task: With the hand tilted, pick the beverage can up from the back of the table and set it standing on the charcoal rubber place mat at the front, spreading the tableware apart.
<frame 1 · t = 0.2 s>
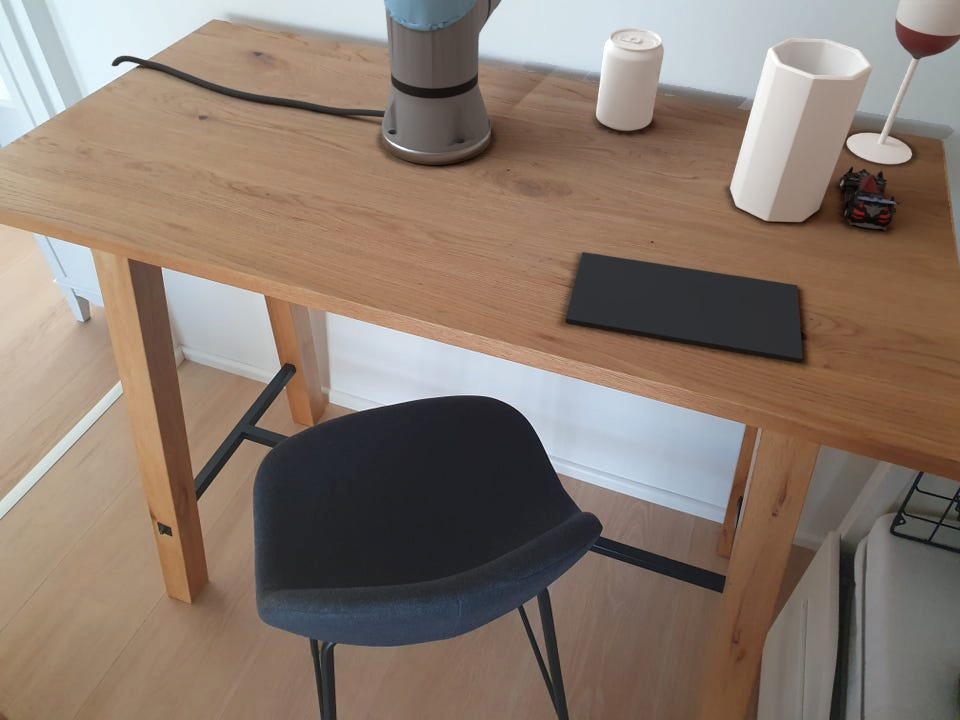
cup: (772, 200, 98), on the table
wineglass: (878, 149, 108), on the table
beverage can: (622, 121, 113), on the table
place mat: (683, 305, 83), on the table
toy car: (861, 204, 98), on the table
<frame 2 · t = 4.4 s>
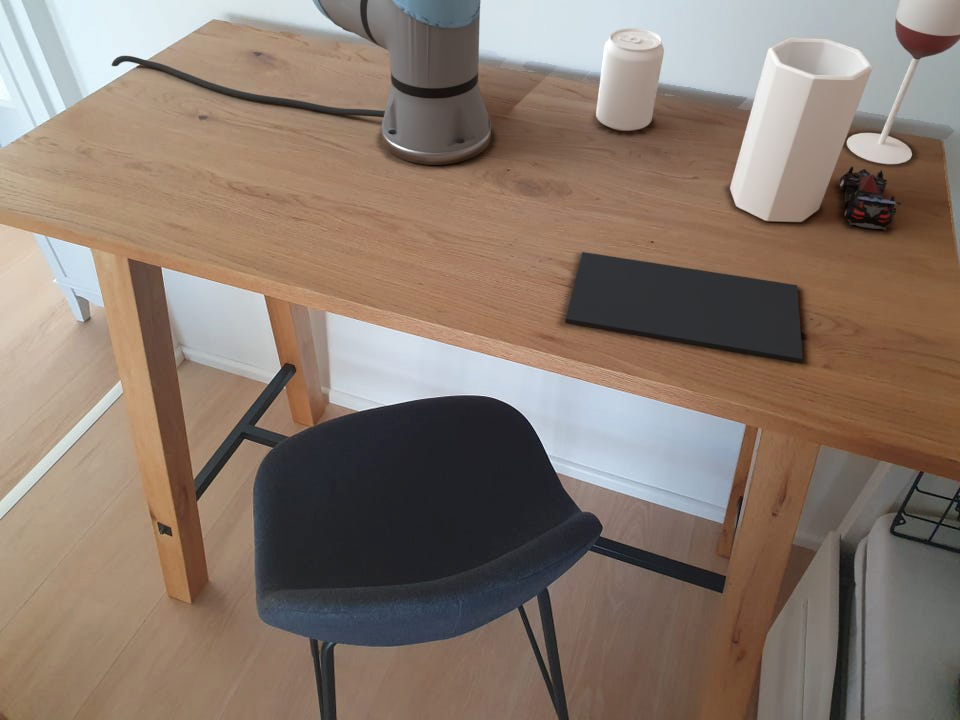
nothing on the table moved.
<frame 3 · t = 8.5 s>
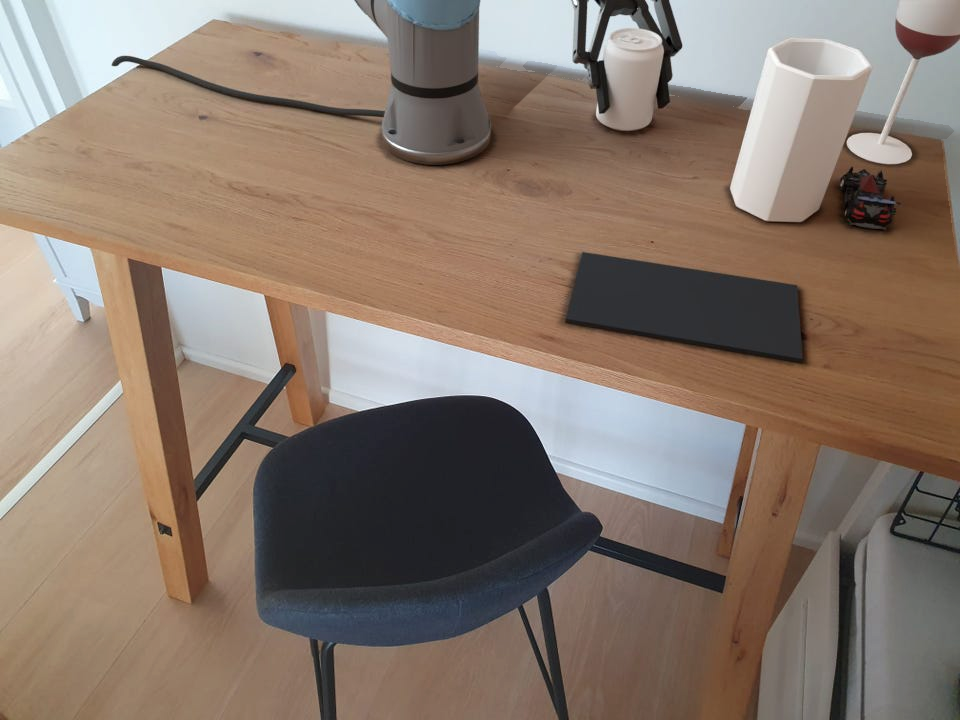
hand: (634, 107, 107), 4 cm above the table, tool tilted 45°, fingers closed on beverage can, 8 cm apart
beverage can: (622, 121, 113), on the table, touching gripper
everything else where it was.
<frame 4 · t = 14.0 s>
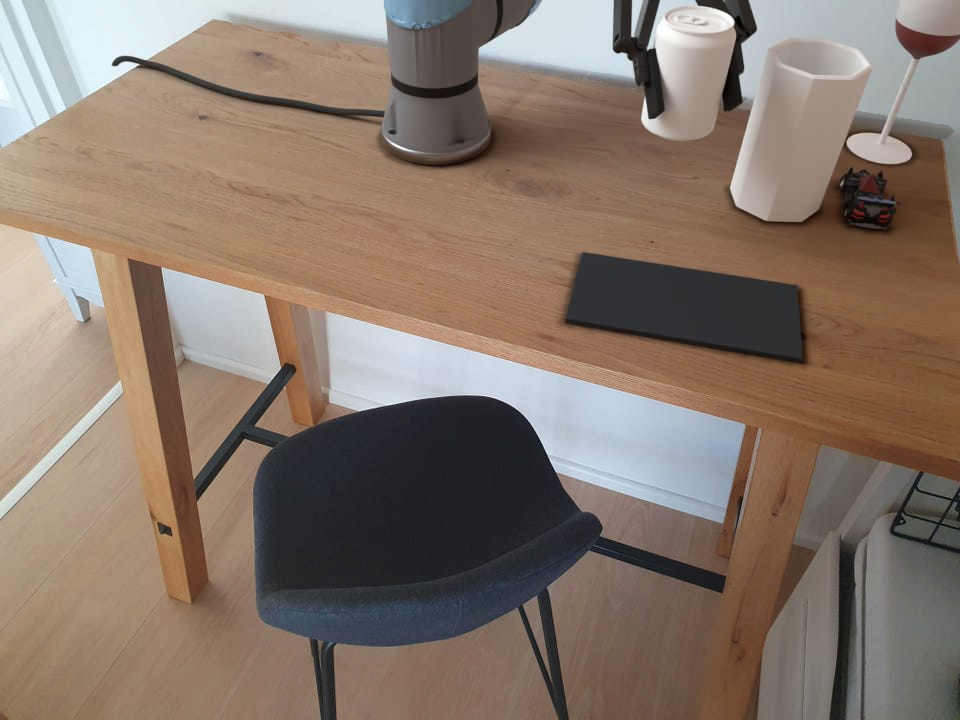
hand: (695, 110, 81), 16 cm above the table, tool tilted 45°, fingers closed on beverage can, 8 cm apart
beverage can: (676, 128, 87), point 12 cm above the table, touching gripper
everything else where it was.
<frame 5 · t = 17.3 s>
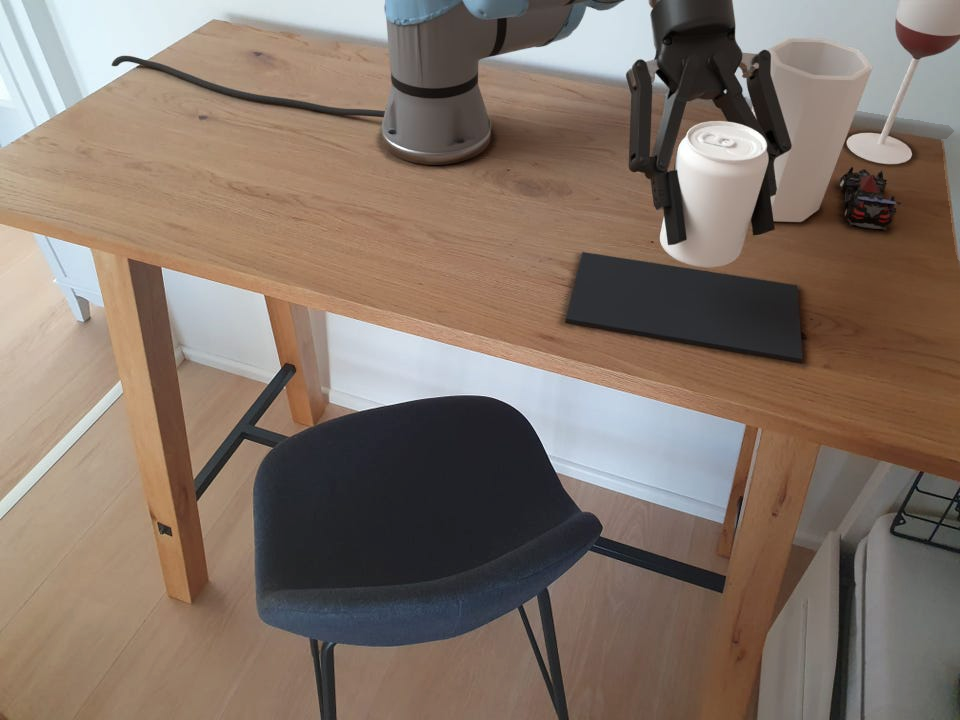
hand: (720, 237, 73), 11 cm above the table, tool tilted 45°, fingers closed on beverage can, 8 cm apart
beverage can: (698, 249, 78), point 8 cm above the table, touching gripper
everything else where it was.
when the fingers open (4 cm above the table, at t = 19.7 s): beverage can stays where it is, resting on place mat.
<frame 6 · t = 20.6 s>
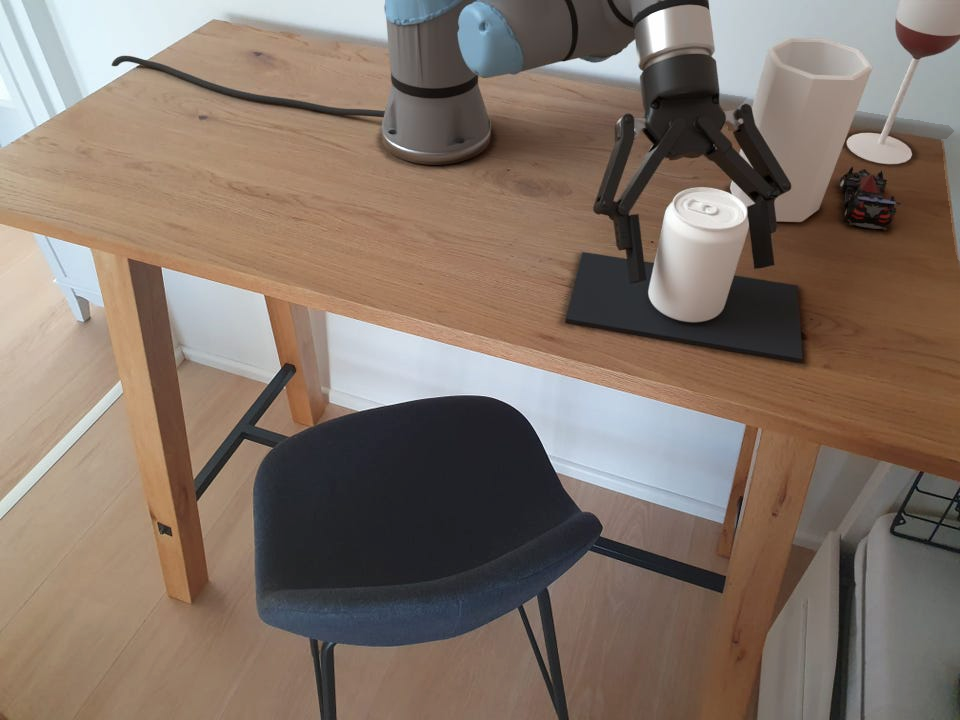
hand: (701, 274, 77), 6 cm above the table, tool tilted 45°, fingers open, 13 cm apart
beverage can: (684, 302, 83), resting on place mat
everything else where it was.
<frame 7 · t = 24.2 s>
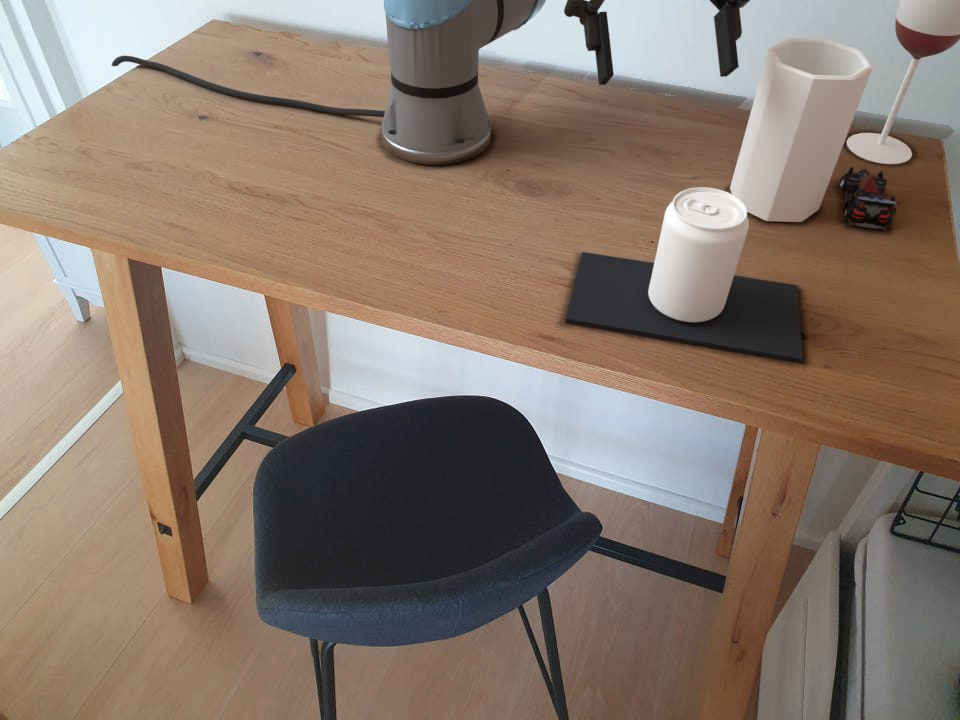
hand: (668, 76, 80), 19 cm above the table, tool tilted 45°, fingers open, 13 cm apart
nothing on the table moved.
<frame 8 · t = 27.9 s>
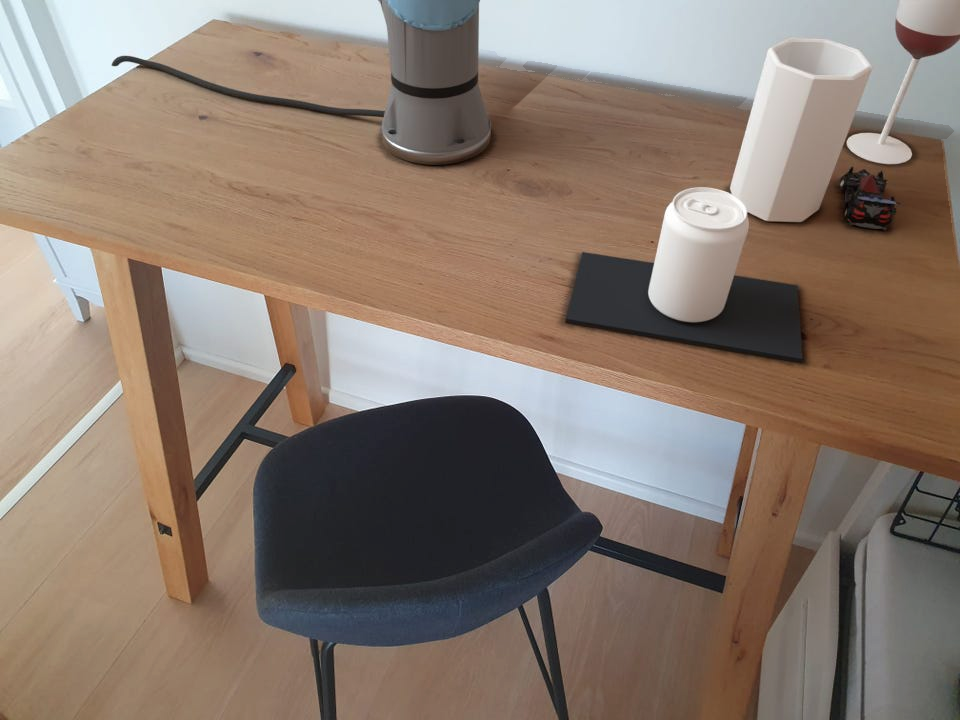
nothing on the table moved.
at the end: beverage can inside the target area on the place mat (0.1 cm from its centre), point 0.4 cm above the place mat's base; beverage can tilted 0°; the gripper is holding nothing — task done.
